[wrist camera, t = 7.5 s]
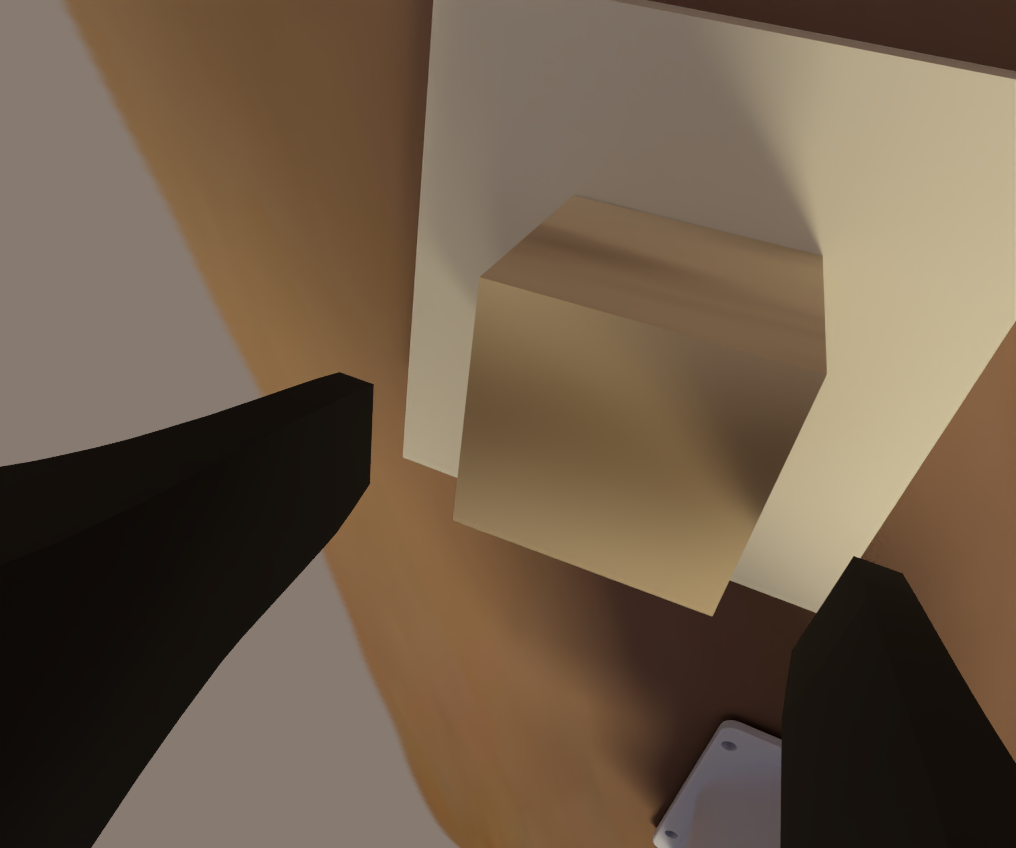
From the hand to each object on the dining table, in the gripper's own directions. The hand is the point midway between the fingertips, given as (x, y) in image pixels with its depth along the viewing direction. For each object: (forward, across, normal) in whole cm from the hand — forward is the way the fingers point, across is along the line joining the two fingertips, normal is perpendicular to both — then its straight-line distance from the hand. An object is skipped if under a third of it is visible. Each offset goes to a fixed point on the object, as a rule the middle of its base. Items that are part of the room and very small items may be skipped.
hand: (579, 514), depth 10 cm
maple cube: (+6, 0, 0) cm, 6 cm away
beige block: (+9, 0, 0) cm, 9 cm away
